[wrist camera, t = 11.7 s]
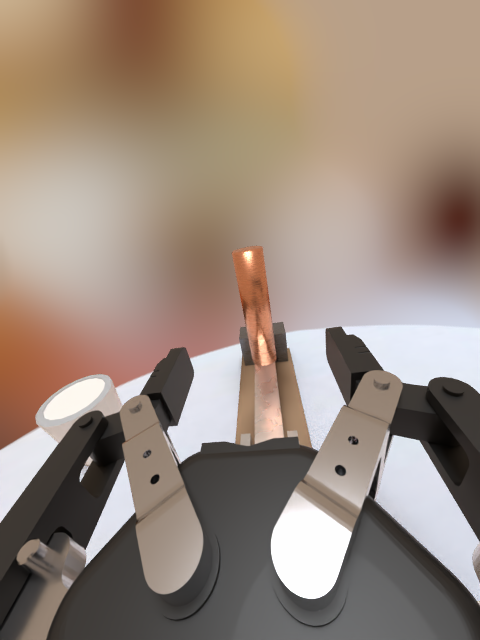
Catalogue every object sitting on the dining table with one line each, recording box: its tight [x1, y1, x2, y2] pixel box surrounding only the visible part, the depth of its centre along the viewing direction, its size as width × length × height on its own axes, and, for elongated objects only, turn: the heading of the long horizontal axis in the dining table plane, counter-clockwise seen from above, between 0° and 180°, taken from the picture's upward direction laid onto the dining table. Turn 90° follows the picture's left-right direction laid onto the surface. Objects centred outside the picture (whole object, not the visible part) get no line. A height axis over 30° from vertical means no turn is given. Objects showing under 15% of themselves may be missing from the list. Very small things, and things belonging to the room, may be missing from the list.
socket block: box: [239, 322, 288, 366], centre depth 32 cm, size 6×3×4 cm, turn 87°
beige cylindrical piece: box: [36, 374, 122, 466], centre depth 25 cm, size 7×7×7 cm
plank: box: [235, 348, 312, 448], centre depth 22 cm, size 7×28×1 cm, turn 177°
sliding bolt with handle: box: [232, 246, 284, 444], centre depth 22 cm, size 3×18×16 cm, turn 177°
